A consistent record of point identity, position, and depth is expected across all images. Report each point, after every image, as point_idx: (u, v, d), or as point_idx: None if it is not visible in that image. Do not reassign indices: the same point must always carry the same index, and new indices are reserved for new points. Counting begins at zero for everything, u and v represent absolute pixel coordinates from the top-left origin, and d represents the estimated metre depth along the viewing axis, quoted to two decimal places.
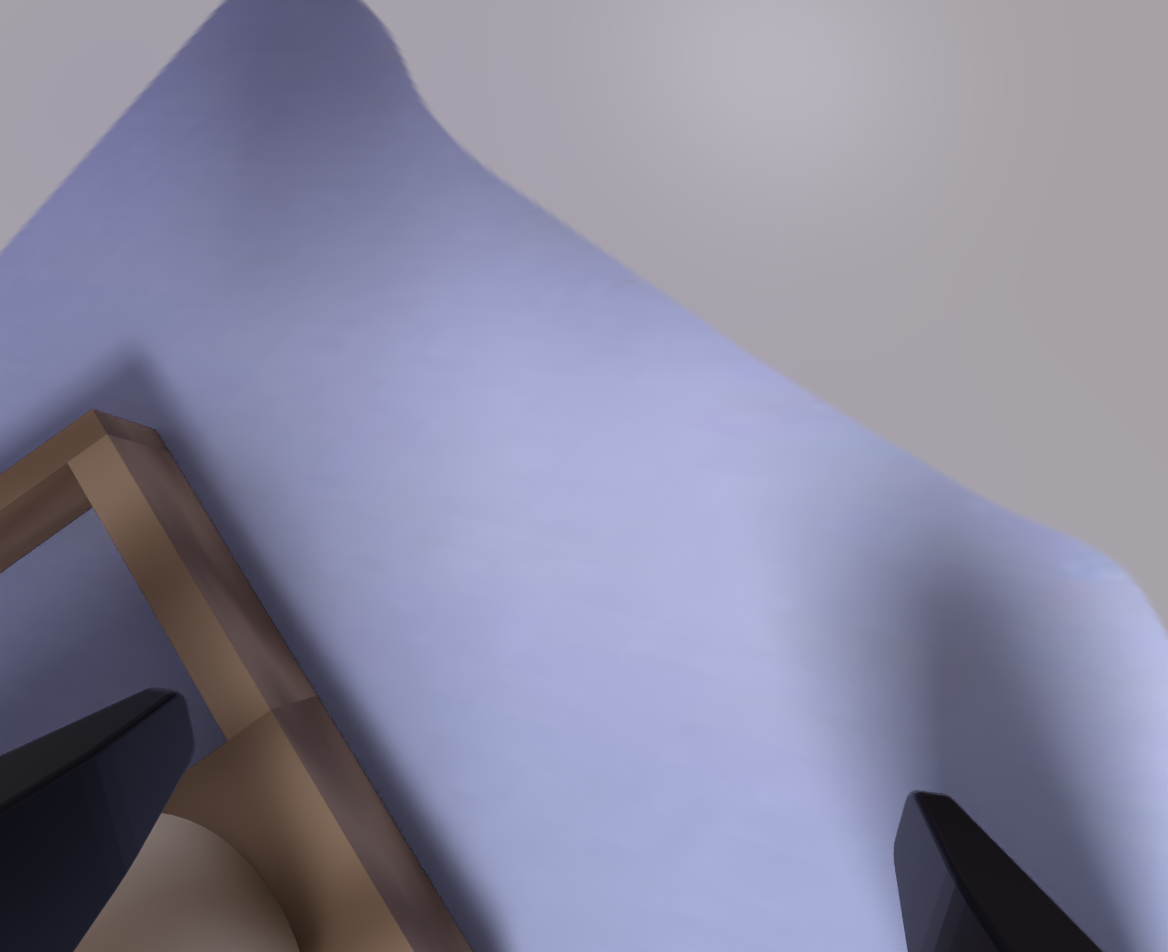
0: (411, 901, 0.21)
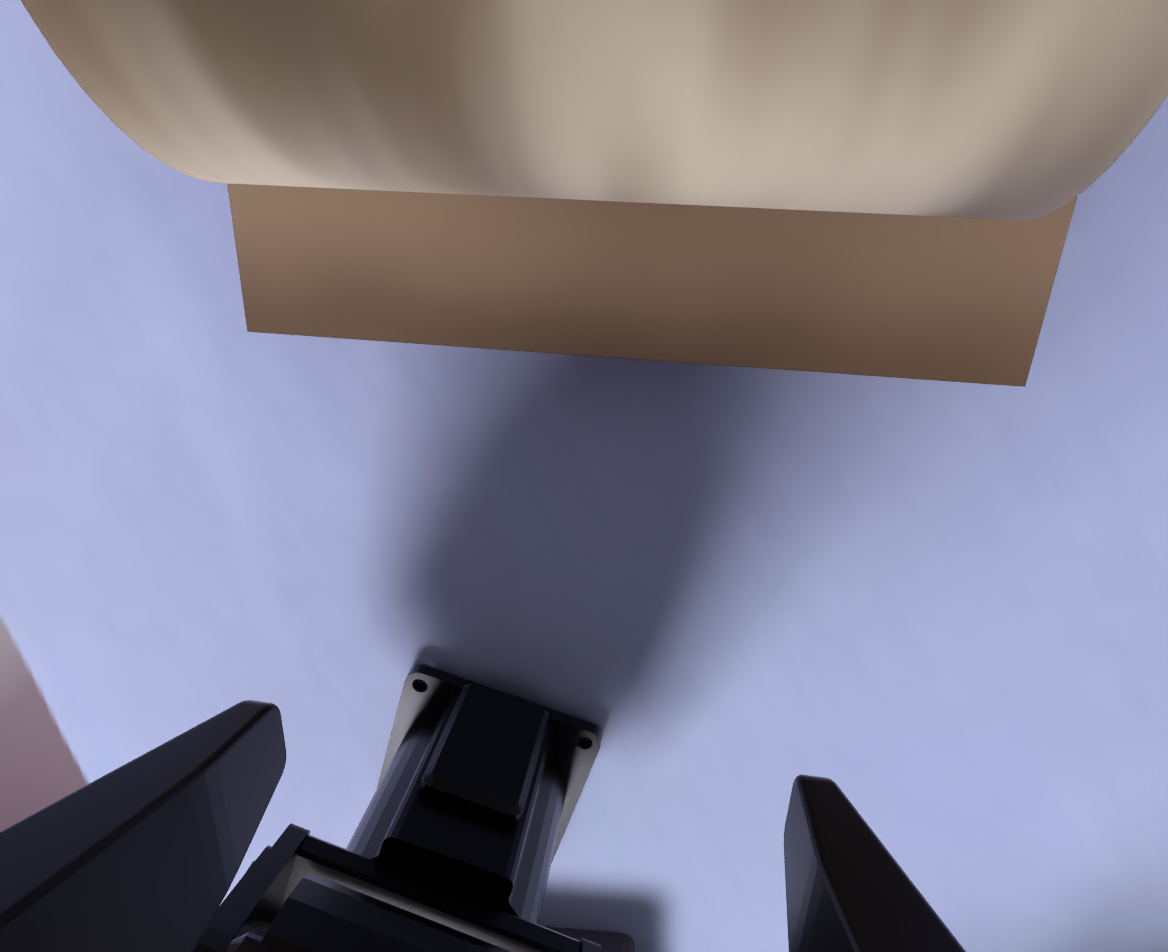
0: None
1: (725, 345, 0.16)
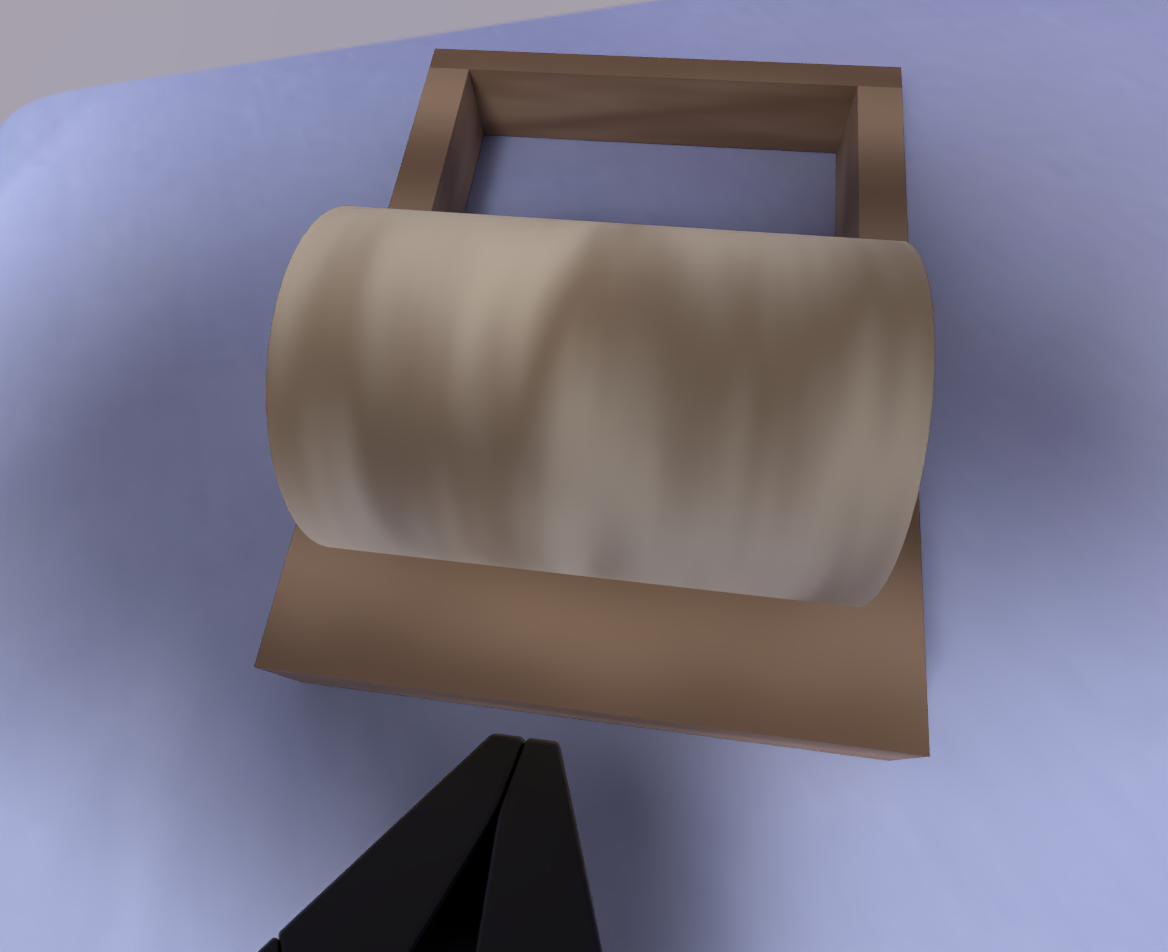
0: None
1: (673, 704, 0.18)
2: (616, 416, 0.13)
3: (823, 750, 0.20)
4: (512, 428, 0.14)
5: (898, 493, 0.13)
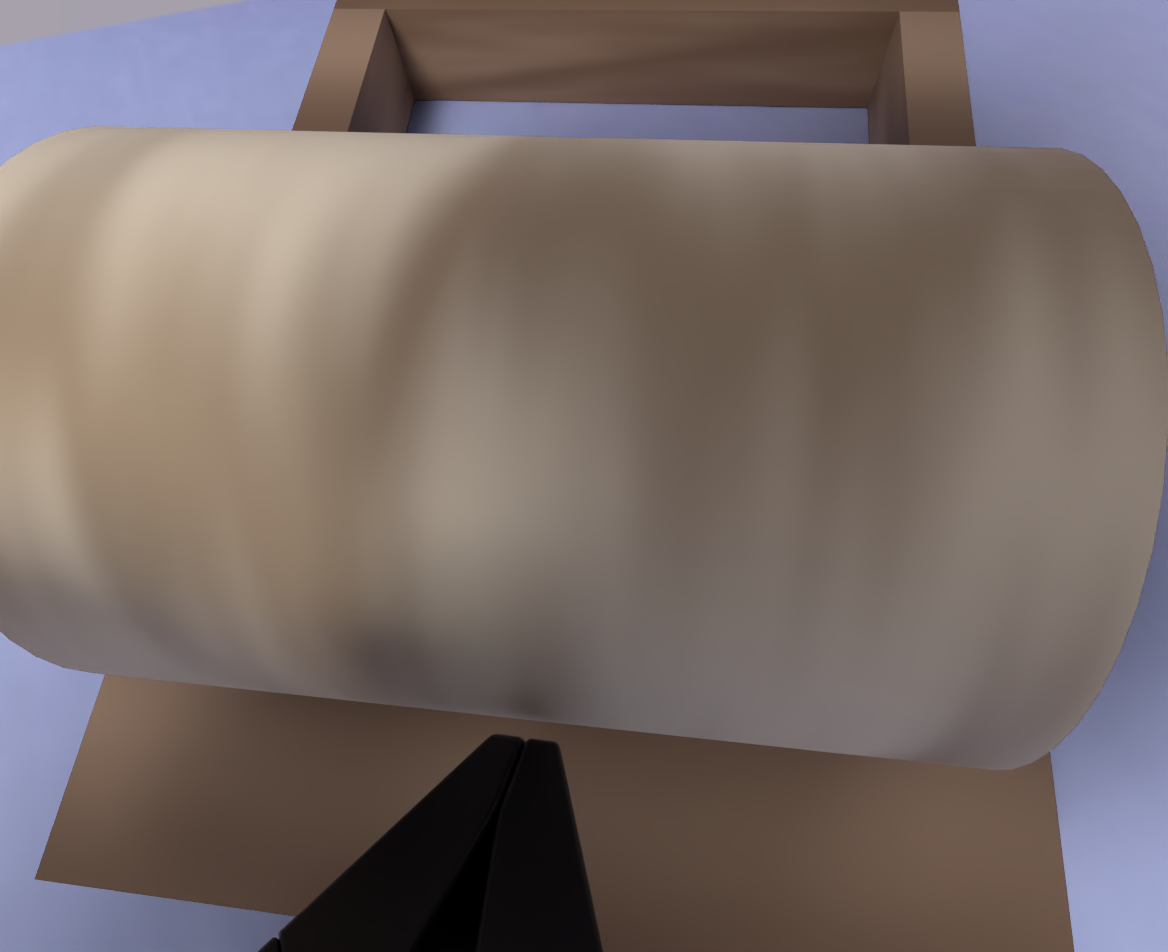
0: None
1: (670, 937, 0.12)
2: (547, 401, 0.07)
3: None
4: (353, 432, 0.07)
5: (1113, 542, 0.06)
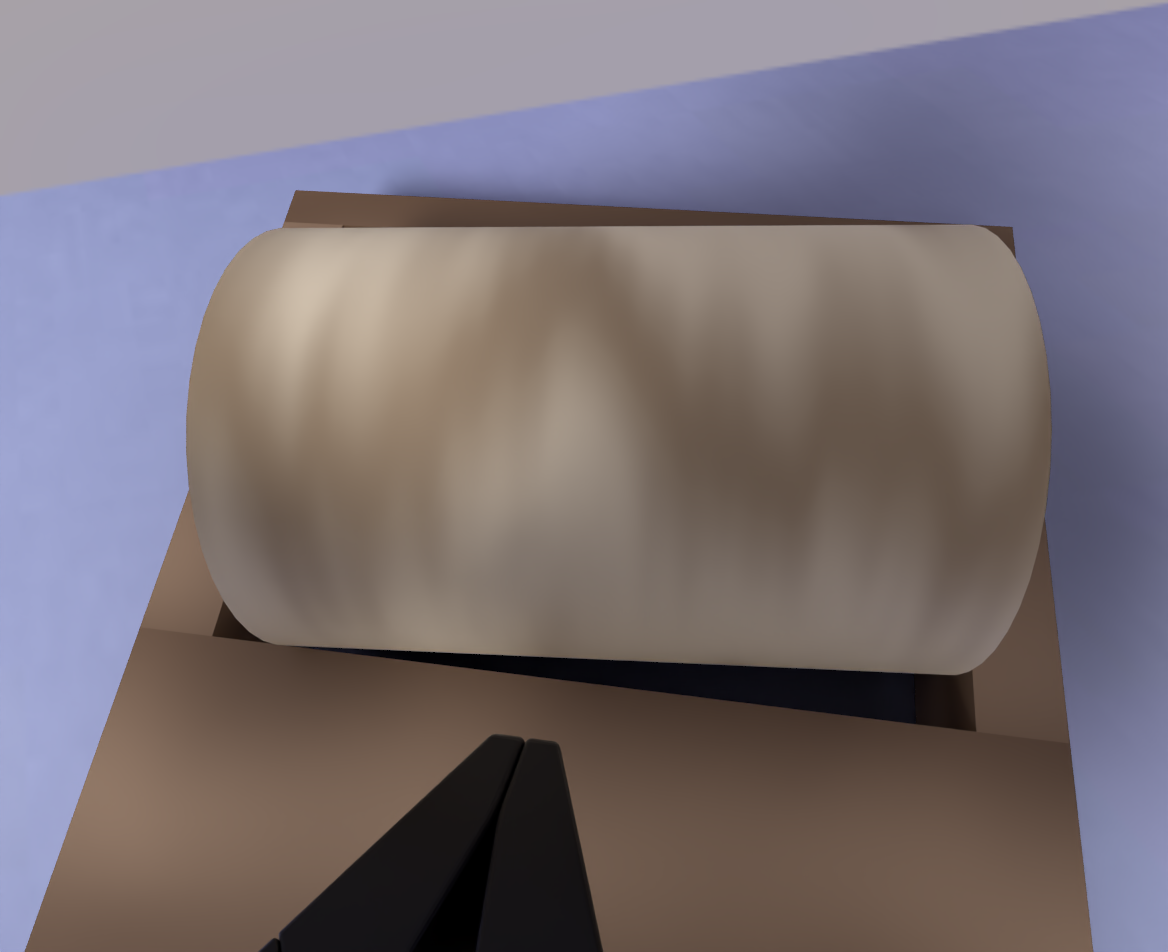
0: None
1: None
2: None
3: None
4: None
5: None
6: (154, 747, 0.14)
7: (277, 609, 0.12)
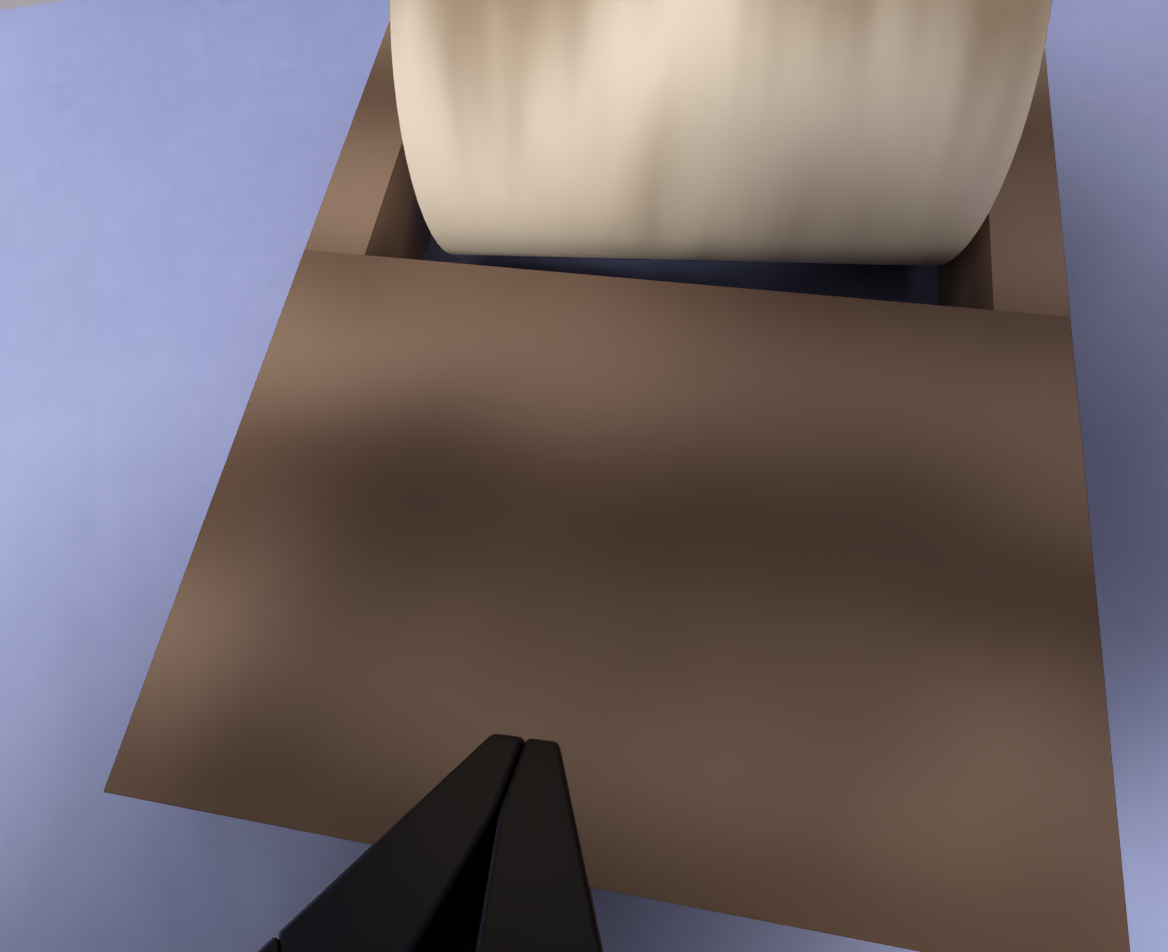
0: None
1: (721, 882, 0.12)
2: None
3: None
4: None
5: None
6: (322, 328, 0.17)
7: (438, 117, 0.15)
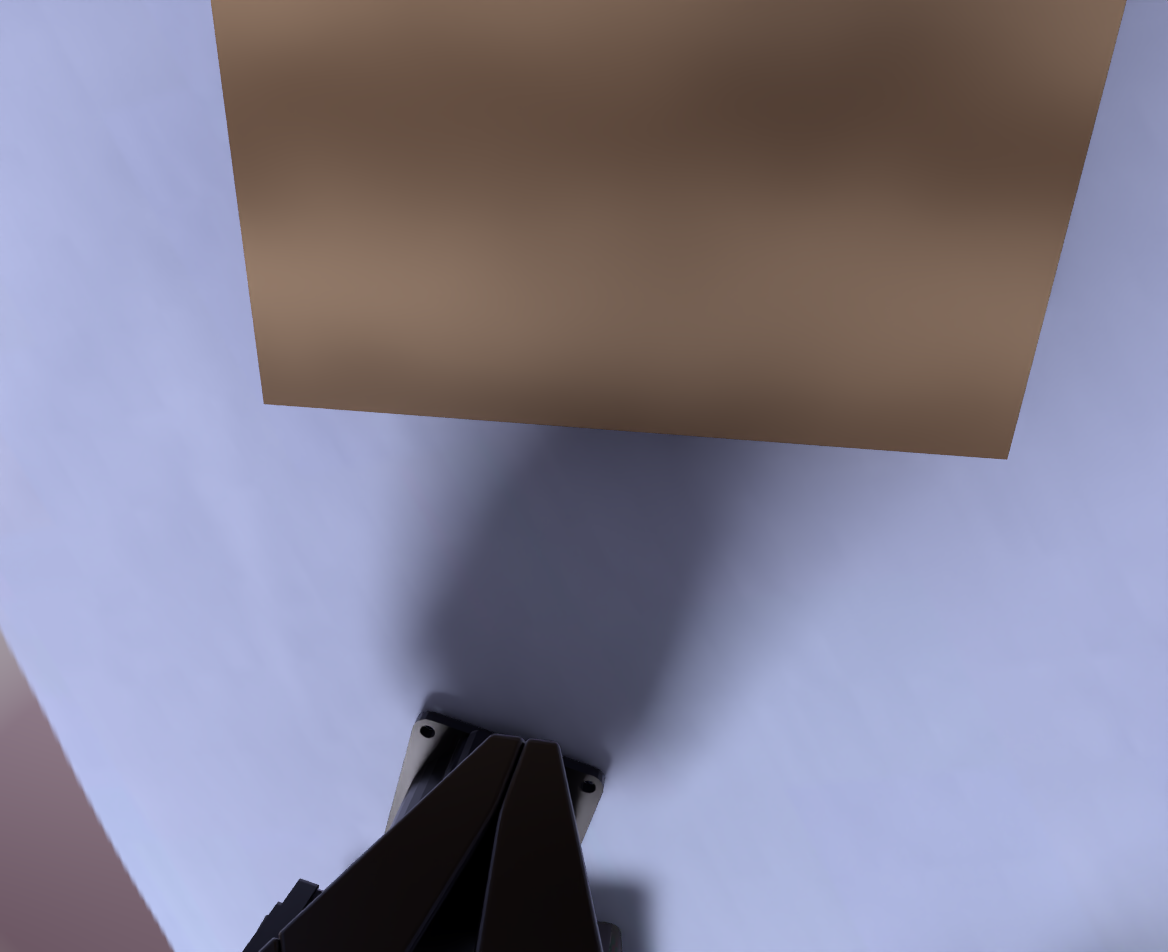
0: None
1: (721, 419, 0.17)
2: None
3: None
4: None
5: None
6: None
7: None
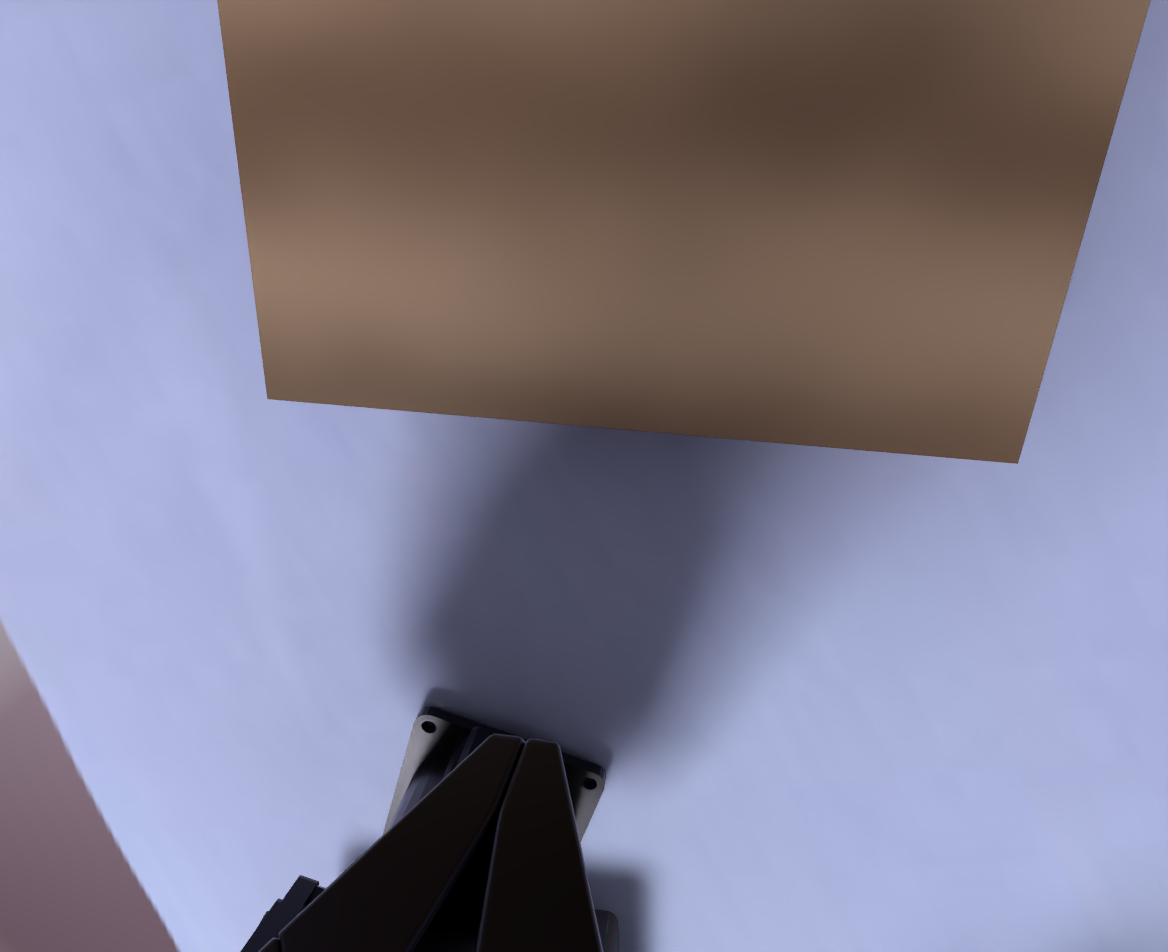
0: None
1: (729, 420, 0.16)
2: None
3: None
4: None
5: None
6: None
7: None
